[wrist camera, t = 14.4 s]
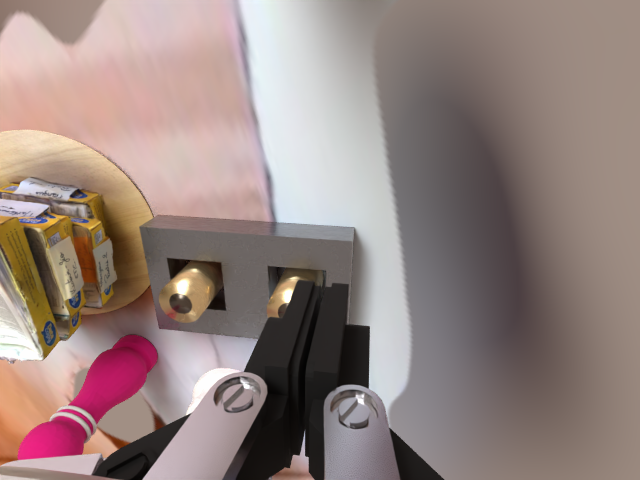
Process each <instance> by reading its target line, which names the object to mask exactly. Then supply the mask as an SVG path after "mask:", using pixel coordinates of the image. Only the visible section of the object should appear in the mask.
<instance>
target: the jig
mask: <svg viewBox="0 0 640 480" xmlns="http://www.w3.org/2000/svg"><path fill="white" fill-rule="evenodd" d="M139 229H140V234H141V239H142V244H143V249H144V254H145V259H146V264H147V269H148V274H149V279H150V285H151V290H152V295H153V300H154V305H155V310H156V315H157V320H158V325H159V329H168V330H178V331H188V332H197V333H207V334H216V335H226V336H235V337H245V338H255V339H259V337H260V335H261V332H262V330H263V328H264V326H265V324H266V321H267V320H268V316H267V305H268V303H269V301H270V299H271V297H272V295H273V292H274V290H275V288H276V286H277V284H278V282H277V267H288V268H301V269H313V270H326V287H331V286H332V283H342V284H349V293H348V311H347V324H349V314H350V296H351V279H352V262H353V244H354V227H339V226H323V225H308V224H292V223H277V222H261V221H246V220H230V219H215V218H199V217H184V216H168V215H157V216H156V217H154V218H152V219H151V220H149V221H147V222H146V223H144V224H143V225H141V226H139ZM186 259H187V260H191V261H190V262H189V263H188V264H187V265H186ZM223 285H224V292H219V291H220V289H221V288H222V287H223ZM321 302H322V301H321ZM320 306H321V305H320Z"/></svg>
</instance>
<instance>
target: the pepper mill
mask: <svg viewBox="0 0 640 480" xmlns="http://www.w3.org/2000/svg"><path fill="white" fill-rule="evenodd" d="M157 358H158V355H157V351H156V349H155V347H154V346H153V345H152V344H151V343H150V342H149V341H148V340H147V339H145V338H143V337H141V336H137V335H127V336H124V337H122V338H121V339H120V340H119V341H118V342H117V343H116V344H115V345H114V346H113V348H112V349H110V350H107V351H105V352H103V353H101V354H100V355H99V356H98V357H97V358H96V360H95V361H94V362H93V364H92V365H91V367H90V369H89V371H88V373H87V376H86V379H85V382H84V384H83V387H82V389H81V391H80V392H79V394H78V395H77V397H76V398H75V399H74V400H73V401H72V402H71V403H70V404H69V405H66V406H63V407H60V408H59V409H58V410H57V412H56V413H55V414H53V415H52V416H51V418H50V421H49V422H45V423H42V424H40V425H38V426H37V427H35V428H34V429H32V430H31V431H30V432H29V433H28V435H27V436H26V437H25V438H24V440H23V441H22V443H21V445H20V447H19V451H18V460H26V459H38V458H50V457H62V456H74V455H82V453H83V448H84V443H86V442H88V441H89V440H90V438H91V436H92V435H93V434H94V433H95V432H96V429H97V423H98V422H99V420H100V419H101V418H102V417H103V416H104V414H105V413H106V412H107V411H108V410H110V409H111V408H112V407H114V406H115V405H117V404H119V403H121V402H123V401H125V400H126V399H128V398H130V397H131V396H133V395H134V394H135V393H137V392H138V391H139V389H140V388H141V387H142V386H143V385H144V383H145V381H146V377H147V373H148V372H149V371H150V370H151V369H152V368H153V366H154V365H155V364H156V362H157Z"/></svg>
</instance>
